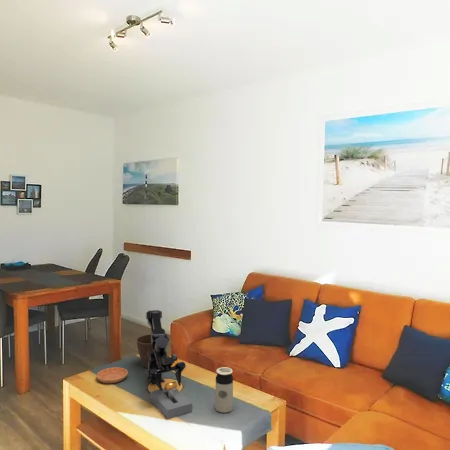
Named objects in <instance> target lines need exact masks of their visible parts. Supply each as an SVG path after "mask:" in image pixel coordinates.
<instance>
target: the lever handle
mask: <svg viewBox="0 0 450 450" xmlns="http://www.w3.org/2000/svg"><path fill="white" fill-rule="evenodd" d="M164 388H165V390H166V391H168V390H169V399H170V400H171V401H172V402H173V389H178V383H177V381H176V380H175V381H174V380H173V381H171V382H167V383H164Z"/></svg>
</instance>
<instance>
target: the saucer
mask: <svg viewBox="0 0 450 450" xmlns="http://www.w3.org/2000/svg"><path fill="white" fill-rule="evenodd" d="M128 372H129V371H128V370H127V369H126V368H123V367H114V366H113V367H108V368H107V367H106V368H104V369H102V370H99V371H98V372H97V373H96V378H97V380H98V381H99V382H101V383H103V384H107V385H108V384H117V383H120V382H122V381H124V379H126V377H127V376H128Z"/></svg>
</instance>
